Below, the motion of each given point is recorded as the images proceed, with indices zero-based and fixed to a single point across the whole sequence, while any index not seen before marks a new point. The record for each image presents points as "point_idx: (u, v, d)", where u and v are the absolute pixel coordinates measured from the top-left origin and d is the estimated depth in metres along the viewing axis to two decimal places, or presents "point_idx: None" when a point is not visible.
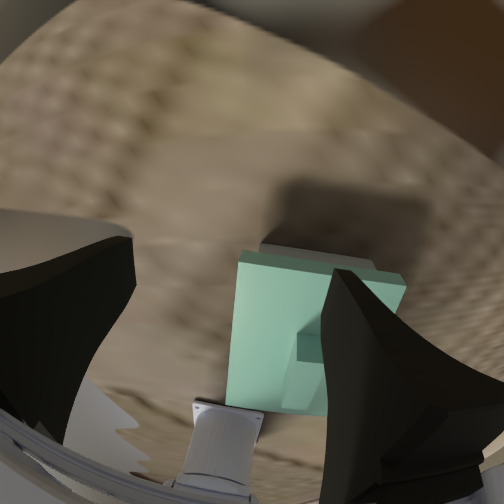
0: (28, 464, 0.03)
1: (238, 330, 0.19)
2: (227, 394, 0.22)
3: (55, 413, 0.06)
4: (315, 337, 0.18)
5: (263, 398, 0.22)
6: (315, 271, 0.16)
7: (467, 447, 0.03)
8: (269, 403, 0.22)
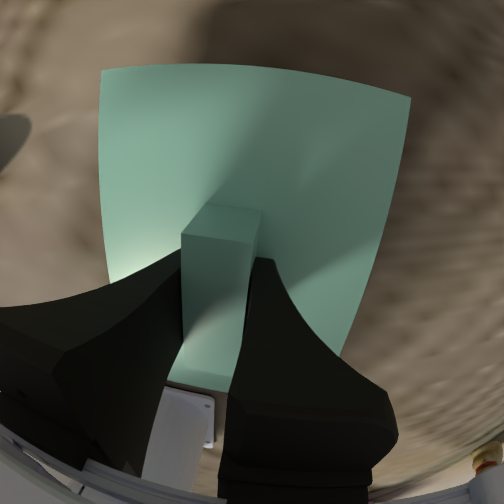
0: (28, 464, 0.03)
1: (109, 206, 0.10)
2: None
3: (138, 447, 0.06)
4: (242, 210, 0.09)
5: (179, 360, 0.13)
6: None
7: (333, 462, 0.03)
8: (192, 370, 0.13)
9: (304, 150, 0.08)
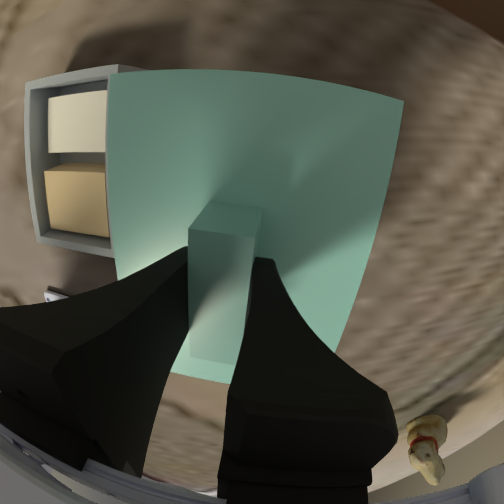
0: (28, 464, 0.03)
1: (118, 204, 0.10)
2: None
3: (138, 447, 0.06)
4: (244, 207, 0.10)
5: (183, 351, 0.14)
6: None
7: (333, 462, 0.03)
8: (195, 362, 0.14)
9: (302, 151, 0.09)
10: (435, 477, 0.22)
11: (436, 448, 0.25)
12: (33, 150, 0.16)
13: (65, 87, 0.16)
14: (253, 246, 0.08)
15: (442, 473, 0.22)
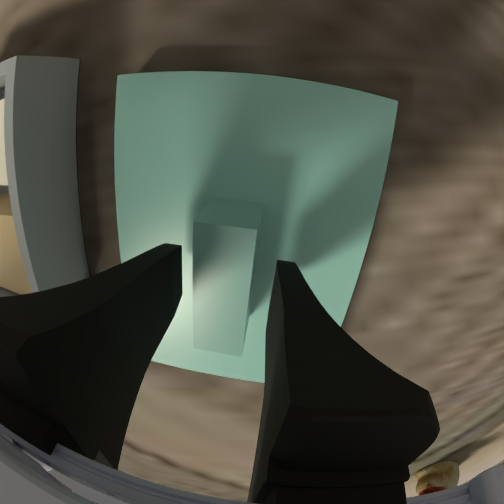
0: (28, 464, 0.03)
1: (124, 200, 0.11)
2: None
3: (113, 438, 0.06)
4: (246, 203, 0.10)
5: (186, 345, 0.14)
6: None
7: (378, 461, 0.03)
8: (198, 355, 0.14)
9: (302, 149, 0.09)
10: None
11: None
12: None
13: None
14: (255, 238, 0.08)
15: None
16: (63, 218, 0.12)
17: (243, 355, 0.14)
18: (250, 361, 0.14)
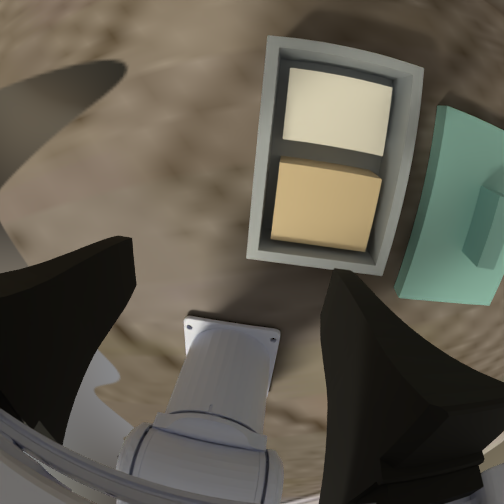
0: (28, 464, 0.03)
1: (439, 180, 0.16)
2: (407, 279, 0.19)
3: (55, 413, 0.06)
4: (493, 190, 0.15)
5: (439, 280, 0.19)
6: None
7: (467, 447, 0.03)
8: (442, 287, 0.19)
9: None
10: None
11: None
12: (270, 131, 0.14)
13: (290, 61, 0.15)
14: None
15: None
16: None
17: (466, 282, 0.19)
18: (468, 287, 0.19)
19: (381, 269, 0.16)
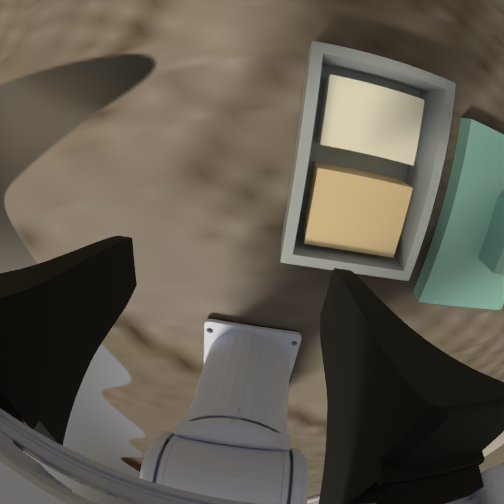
0: (28, 464, 0.03)
1: (461, 190, 0.16)
2: (427, 284, 0.19)
3: (55, 413, 0.06)
4: None
5: (456, 285, 0.19)
6: None
7: (467, 447, 0.03)
8: (458, 292, 0.19)
9: None
10: None
11: None
12: (311, 137, 0.14)
13: (326, 67, 0.15)
14: None
15: None
16: None
17: (480, 288, 0.19)
18: (481, 292, 0.19)
19: (408, 274, 0.16)
